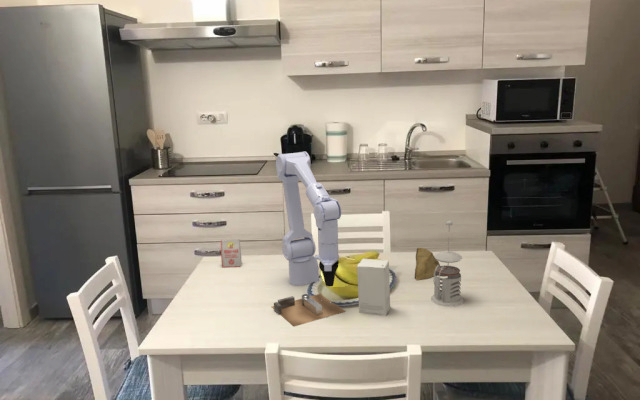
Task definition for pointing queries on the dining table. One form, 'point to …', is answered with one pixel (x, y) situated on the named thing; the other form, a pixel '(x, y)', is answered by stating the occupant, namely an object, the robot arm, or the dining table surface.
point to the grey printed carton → (230, 253)
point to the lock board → (304, 310)
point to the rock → (425, 264)
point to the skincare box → (373, 286)
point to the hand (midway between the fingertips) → (329, 285)
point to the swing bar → (311, 304)
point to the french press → (447, 279)
